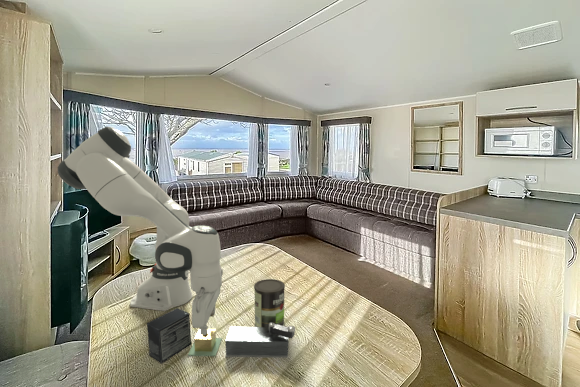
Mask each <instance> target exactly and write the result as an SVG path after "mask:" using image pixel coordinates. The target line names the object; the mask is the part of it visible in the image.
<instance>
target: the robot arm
mask: <svg viewBox="0 0 580 387" xmlns="http://www.w3.org/2000/svg"><path fill="white" fill-rule="evenodd" d="M131 151H132V144H131V143H130V141H129V139H128V137H127V136H126V135H125V134H124V133H123V132H122V131H121V130H118V129H116V128H115V127H112V126H105V127H103V128H101V129H99V130H97V132H96V133H94V134H93V135H91V136H90V137H88V138H86V139H85V140H84V141H83V142H81V143H79V146H77V147H76V148H75V149H74V150H73V151H72V152H71V153H70V154H69V155H67V157H66V158H64V159H62V160H61V162H60V163H59V164H58V166H57V174H58V176H59V177H60V179H61V180H62V181H63V182H64V183H65V184H67V185H68V186H69V187H71V188H74V189H76V190H87V191H88V193H89V194H90V195H91V196H92V198H94V199H95V201H96V202H97V203H99V205H100V206H101V207H102V208H103V209H105V211H106V210H107V211H108V212H109V213H111V214H113V215H115V216H120V217H138V218H142V219H146V220H148V221H150V222H151V223H153V224H154V225H155V227H156V240H155V241H156V242H155V247H154V248H155V252H154V258H155V263H154V265H153V266H151V268H150V269H149V271H150V272H149V274H150V276H148V277H147V278H146V279H144V281H142V282H141V283H140V284H139V286H138V287H137V290H136V294H135V295H133V297H132V299H131V300H130V304H129V305H130V307H131V308H132V307H133V308H138V309H139V308H140V309H145V310H146V309H147V310H154V311H163V312H164V311H165V312H166V311H169V310H170V309H172V308H175V307H176V308H177V307H179V306H183V305H184V304H186V303H189V302H190V301H191V300H192V298H193V293H192V292H195V296H194V298H193V300H192V304H191V325H192V328H194V329H200V334H201V335H206V334H207V331H208V329H209V327H208V326H207V324H208V322H209V319H210V317H213V318H214V316H215V314H216V305H217V304H216V303H217V302H218V299H219V296H220V294H221V288H222V284H223V279H222V278H223V276H224V275H223V274H224V273H223V270H224V269H223V268H222V267H221V258H222V253H221V252H222V250H221V241H220V240H221V239H220V235H219V233H218V231H217V230H216V229H215V228H213V227H212V226H210V225H203V224H202V225H194V226H190V216H189V213H188V211H187V210H186V208H184V207H183V206H182V205H180V204H178V203H177V202H176V200H174V199H173V198H172V197H170V195H168V193H167V192H165V190H163V189H162V187H161V186H160V185H158V184H157V182H155V181H154V180H153V179H152V178H151V177H150V176H149V175H148V174H147V173H146V172H144V170H142V168H141V167H139V166H138V165H137V163H135V162H133V161H132V160H131V159H129V158H130V157H131V156H130V153H131ZM189 274H190V275H189ZM189 276H190V277H189ZM189 278H190V282H189Z"/></svg>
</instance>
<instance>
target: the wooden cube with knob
mask: <svg viewBox="0 0 580 387" xmlns="http://www.w3.org/2000/svg"><path fill="white" fill-rule="evenodd" d="M216 331H217V330H216V328H208V331H207V334H206V335H201V334H200V328H198V331H197V333H196V334H195V337H194V338H193V339H194V341H193V344H194V345H195V351H207V352H212V350H213V347H214V345H215V342H216V338H217V335H216V334H217V332H216Z"/></svg>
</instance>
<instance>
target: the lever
mask: <svg viewBox="0 0 580 387" xmlns="http://www.w3.org/2000/svg"><path fill="white" fill-rule="evenodd" d="M295 332H296V327H295V326H294V325H289V326H285V325H284V326H281V325H277V324H274V323H273V322H271V323H269V334H270V335H273V334H277V335H280V336H284V337H287V338H289V339H291V340H292V339H293V338H294V336H295V334H296V333H295Z"/></svg>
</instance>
